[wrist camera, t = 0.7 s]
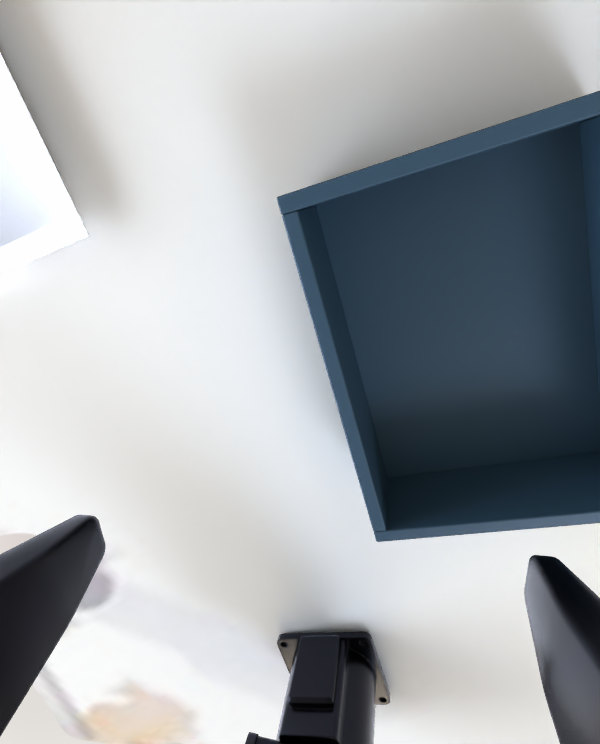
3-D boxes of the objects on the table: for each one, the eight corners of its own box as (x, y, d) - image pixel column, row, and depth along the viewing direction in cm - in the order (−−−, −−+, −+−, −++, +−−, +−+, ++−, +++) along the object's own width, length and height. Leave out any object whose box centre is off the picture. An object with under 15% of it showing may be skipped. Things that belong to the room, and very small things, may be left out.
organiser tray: (612, 452, 21) (666, 518, 17) (379, 481, 24) (376, 542, 20) (589, 100, 16) (657, 71, 12) (301, 194, 19) (276, 197, 15)
